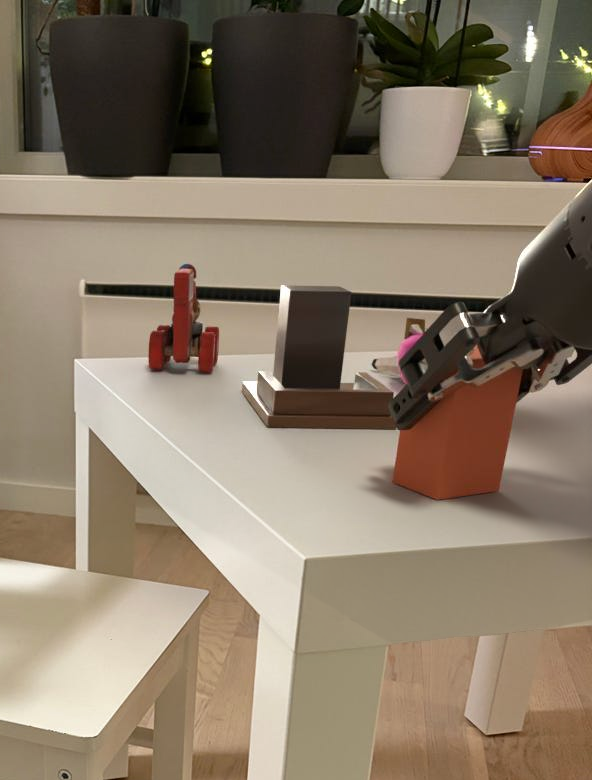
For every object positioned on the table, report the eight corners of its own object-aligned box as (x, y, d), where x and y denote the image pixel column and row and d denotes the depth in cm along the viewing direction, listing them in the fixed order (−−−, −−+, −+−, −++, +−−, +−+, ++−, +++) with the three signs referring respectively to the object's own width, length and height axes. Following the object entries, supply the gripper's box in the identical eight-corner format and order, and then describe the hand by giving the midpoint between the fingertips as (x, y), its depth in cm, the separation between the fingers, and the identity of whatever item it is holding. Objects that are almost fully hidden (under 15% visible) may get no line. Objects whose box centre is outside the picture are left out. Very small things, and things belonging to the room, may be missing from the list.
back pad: (499, 491, 66) (526, 355, 62) (437, 500, 64) (460, 360, 60) (452, 474, 70) (474, 345, 66) (391, 482, 68) (411, 349, 64)
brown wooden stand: (396, 429, 82) (414, 305, 78) (267, 427, 82) (278, 302, 78) (352, 393, 96) (366, 285, 91) (241, 391, 95) (249, 283, 91)
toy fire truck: (219, 358, 112) (225, 262, 108) (210, 378, 101) (217, 272, 97) (159, 355, 113) (163, 260, 109) (144, 375, 102) (148, 269, 98)
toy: (457, 375, 107) (508, 393, 93) (370, 384, 108) (409, 403, 94) (459, 305, 105) (512, 313, 91) (370, 315, 105) (410, 324, 91)
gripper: (689, 186, 56) (497, 362, 70) (502, 182, 50) (335, 374, 64) (750, 294, 54) (539, 452, 68) (562, 303, 48) (376, 473, 62)
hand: (440, 414), depth 66 cm, fingers open, 7 cm apart
